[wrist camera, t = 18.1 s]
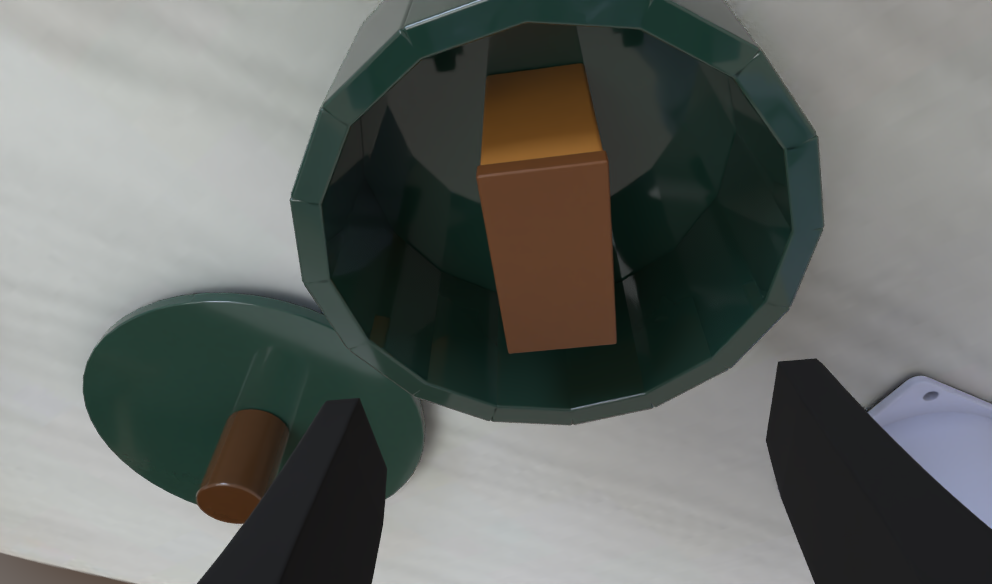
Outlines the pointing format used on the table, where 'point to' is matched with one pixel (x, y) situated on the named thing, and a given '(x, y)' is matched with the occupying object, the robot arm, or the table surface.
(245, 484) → the lid
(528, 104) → the brown block
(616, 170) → the pot
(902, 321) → the table surface
